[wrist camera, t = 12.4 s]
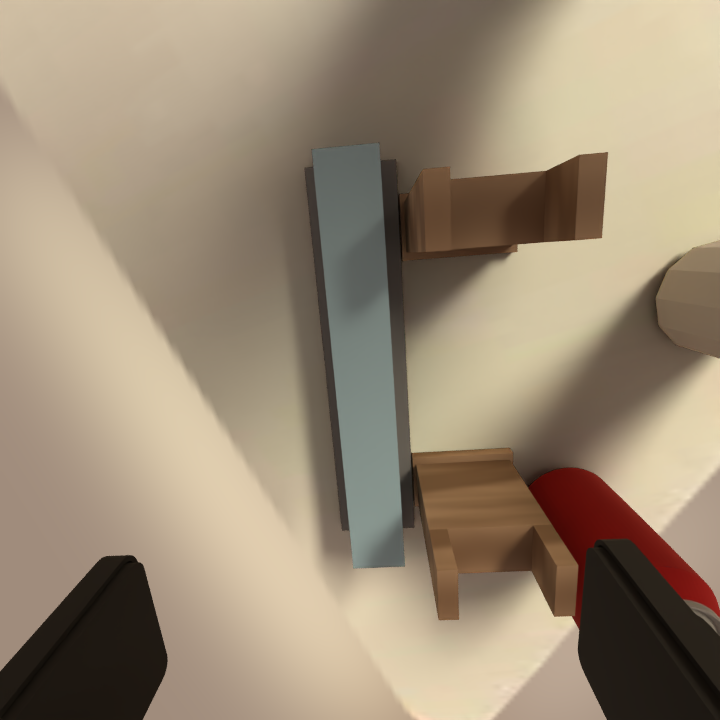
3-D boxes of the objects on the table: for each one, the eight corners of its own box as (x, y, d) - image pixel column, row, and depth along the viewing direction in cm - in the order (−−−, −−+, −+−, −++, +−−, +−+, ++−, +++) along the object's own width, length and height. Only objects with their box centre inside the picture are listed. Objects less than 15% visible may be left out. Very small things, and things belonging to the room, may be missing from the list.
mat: (306, 169, 25) (304, 167, 25) (395, 161, 25) (395, 159, 24) (342, 525, 32) (342, 530, 31) (413, 522, 32) (414, 527, 31)
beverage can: (523, 546, 32) (608, 714, 20) (508, 472, 30) (590, 609, 19) (611, 529, 31) (751, 692, 20) (600, 452, 30) (745, 581, 18)
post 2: (411, 453, 30) (431, 562, 19) (509, 447, 30) (584, 556, 19) (413, 500, 31) (433, 628, 20) (508, 495, 31) (579, 623, 20)
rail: (321, 165, 25) (311, 149, 21) (378, 160, 25) (379, 142, 21) (356, 529, 31) (353, 568, 27) (401, 527, 31) (405, 566, 27)
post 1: (398, 195, 26) (415, 155, 15) (514, 185, 25) (616, 136, 15) (401, 260, 27) (419, 265, 16) (513, 251, 26) (607, 251, 16)
